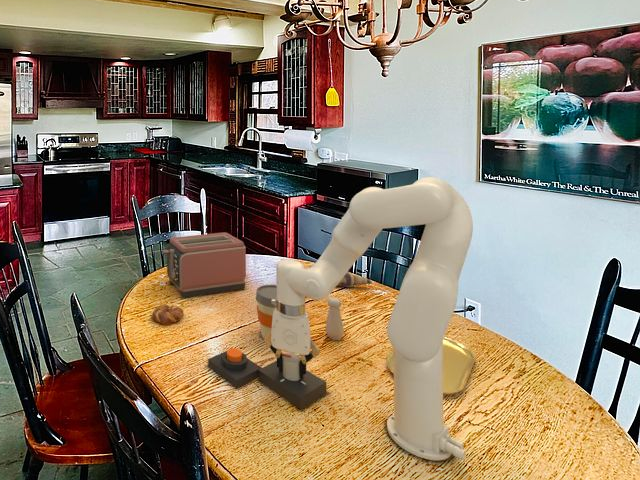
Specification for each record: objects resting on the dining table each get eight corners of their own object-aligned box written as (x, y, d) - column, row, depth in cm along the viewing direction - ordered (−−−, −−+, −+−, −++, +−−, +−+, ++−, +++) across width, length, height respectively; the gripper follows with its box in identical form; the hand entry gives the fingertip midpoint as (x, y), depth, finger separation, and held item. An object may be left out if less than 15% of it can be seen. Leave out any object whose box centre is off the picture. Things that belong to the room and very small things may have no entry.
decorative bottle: (309, 285, 177) (308, 270, 177) (308, 279, 184) (308, 264, 185) (373, 292, 169) (373, 277, 169) (370, 286, 176) (370, 271, 176)
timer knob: (301, 372, 110) (301, 353, 110) (299, 383, 106) (299, 363, 106) (283, 368, 112) (283, 349, 112) (281, 378, 108) (281, 358, 108)
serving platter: (377, 375, 114) (377, 370, 114) (411, 330, 138) (411, 326, 138) (458, 409, 100) (457, 402, 100) (479, 352, 124) (479, 347, 124)
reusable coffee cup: (298, 333, 137) (298, 289, 137) (288, 350, 126) (287, 303, 127) (263, 323, 144) (263, 281, 144) (250, 338, 134) (250, 294, 134)
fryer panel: (326, 393, 106) (326, 381, 106) (300, 409, 100) (300, 397, 100) (284, 366, 118) (283, 356, 118) (258, 380, 112) (258, 369, 112)
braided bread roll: (178, 309, 155) (178, 300, 155) (187, 323, 144) (187, 312, 144) (148, 313, 152) (148, 303, 152) (155, 327, 141) (155, 317, 141)
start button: (245, 359, 116) (245, 353, 116) (234, 364, 113) (234, 358, 113) (234, 352, 119) (234, 346, 119) (223, 357, 117) (223, 351, 117)
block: (261, 375, 114) (261, 361, 114) (236, 388, 108) (236, 373, 109) (232, 355, 124) (232, 342, 124) (208, 366, 118) (207, 352, 118)
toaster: (157, 283, 181) (156, 238, 181) (228, 273, 191) (227, 231, 192) (170, 301, 162) (170, 251, 162) (248, 289, 173) (248, 242, 173)
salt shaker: (346, 342, 131) (345, 303, 131) (327, 340, 132) (327, 301, 132) (341, 333, 136) (341, 295, 137) (323, 331, 138) (323, 294, 138)
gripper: (256, 306, 110) (257, 372, 109) (323, 319, 102) (323, 390, 102) (262, 295, 116) (263, 358, 116) (324, 307, 109) (325, 373, 109)
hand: (291, 372), depth 109 cm, fingers closed on timer knob, 4 cm apart
